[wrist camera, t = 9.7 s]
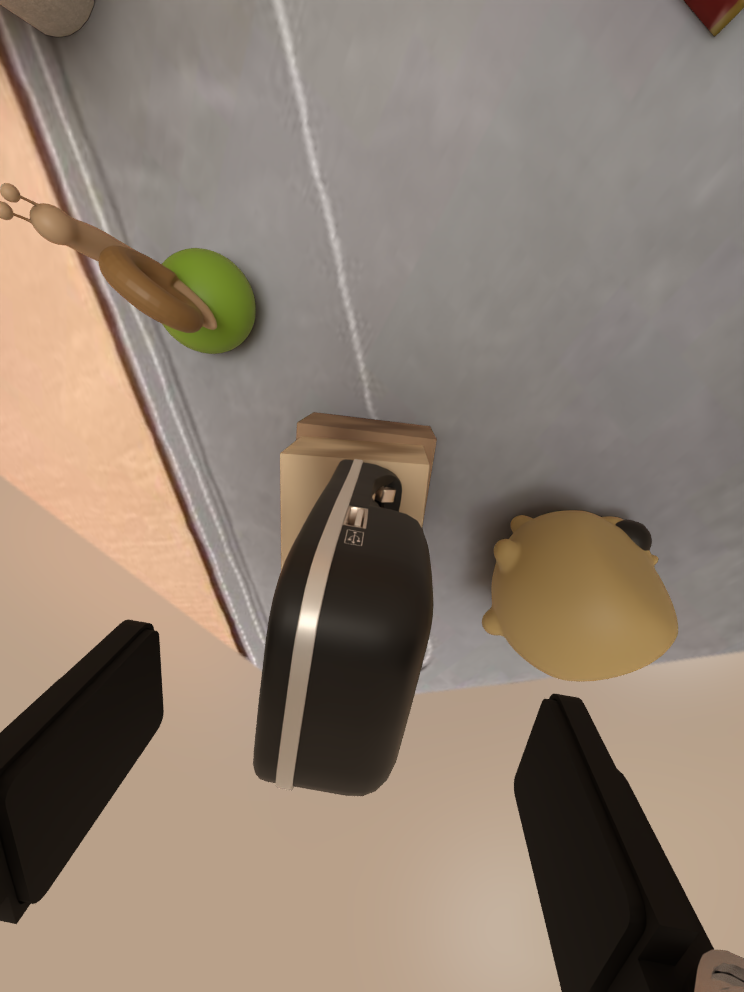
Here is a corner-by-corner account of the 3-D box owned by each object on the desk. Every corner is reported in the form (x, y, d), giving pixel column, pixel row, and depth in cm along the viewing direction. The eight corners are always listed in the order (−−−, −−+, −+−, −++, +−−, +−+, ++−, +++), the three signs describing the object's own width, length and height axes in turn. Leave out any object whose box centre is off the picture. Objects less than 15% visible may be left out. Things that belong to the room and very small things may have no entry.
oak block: (422, 445, 23) (429, 464, 18) (411, 555, 25) (414, 595, 21) (301, 436, 23) (280, 453, 19) (300, 545, 25) (281, 583, 21)
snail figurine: (197, 229, 24) (21, 112, 13) (283, 301, 25) (190, 252, 14) (155, 306, 26) (-35, 264, 14) (238, 371, 27) (121, 379, 15)
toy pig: (526, 582, 35) (672, 650, 28) (444, 647, 26) (622, 764, 20) (551, 475, 31) (726, 520, 24) (466, 511, 23) (692, 595, 16)
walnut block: (429, 425, 27) (436, 439, 23) (412, 531, 30) (416, 564, 25) (314, 412, 27) (297, 422, 23) (307, 518, 30) (291, 548, 25)
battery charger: (393, 593, 21) (393, 845, 10) (321, 580, 21) (242, 818, 10) (421, 465, 19) (462, 609, 8) (341, 450, 18) (267, 573, 8)
